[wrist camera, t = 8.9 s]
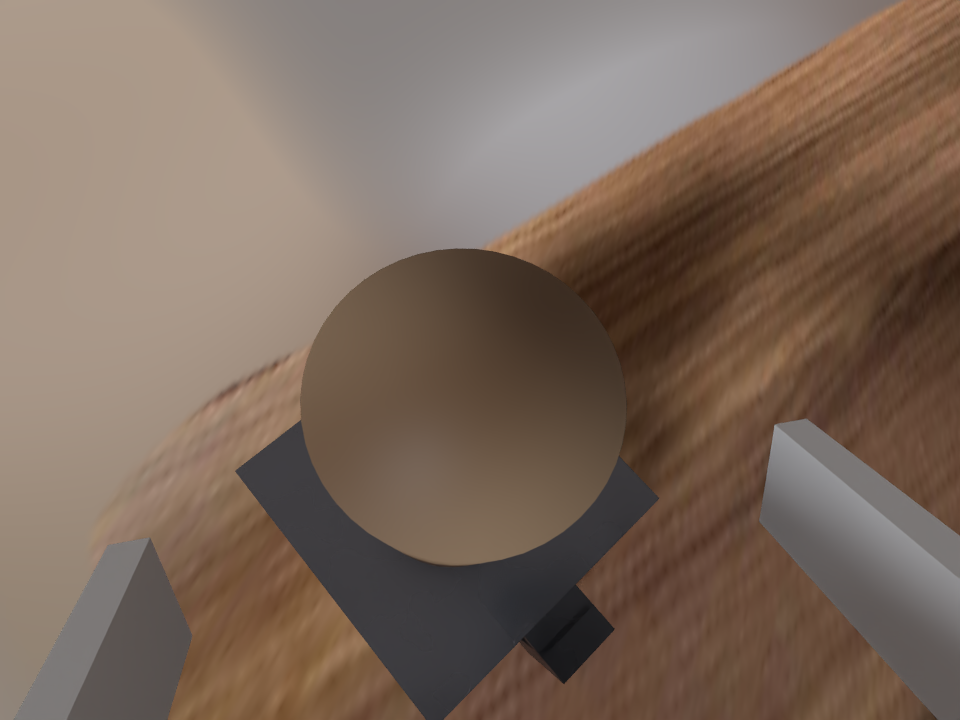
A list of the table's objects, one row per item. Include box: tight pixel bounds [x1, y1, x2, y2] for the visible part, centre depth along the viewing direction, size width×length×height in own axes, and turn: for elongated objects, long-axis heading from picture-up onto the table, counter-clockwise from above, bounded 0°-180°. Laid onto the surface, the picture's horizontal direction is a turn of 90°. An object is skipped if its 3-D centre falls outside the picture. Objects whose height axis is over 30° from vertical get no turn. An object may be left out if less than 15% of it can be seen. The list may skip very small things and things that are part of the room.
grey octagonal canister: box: [235, 420, 659, 720], centre depth 24 cm, size 12×11×12 cm
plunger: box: [300, 249, 627, 567], centre depth 17 cm, size 5×5×16 cm
